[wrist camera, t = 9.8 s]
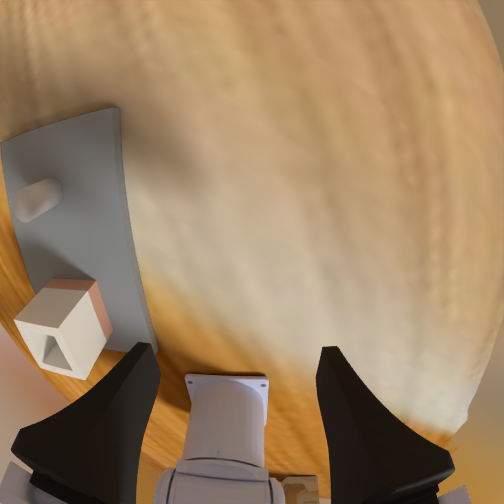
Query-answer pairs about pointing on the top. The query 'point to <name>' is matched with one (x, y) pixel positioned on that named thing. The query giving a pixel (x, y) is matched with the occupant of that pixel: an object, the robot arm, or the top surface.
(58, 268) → the pin board
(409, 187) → the top surface
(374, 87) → the top surface
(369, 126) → the top surface
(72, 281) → the sleeve
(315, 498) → the skincare box
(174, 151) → the top surface
